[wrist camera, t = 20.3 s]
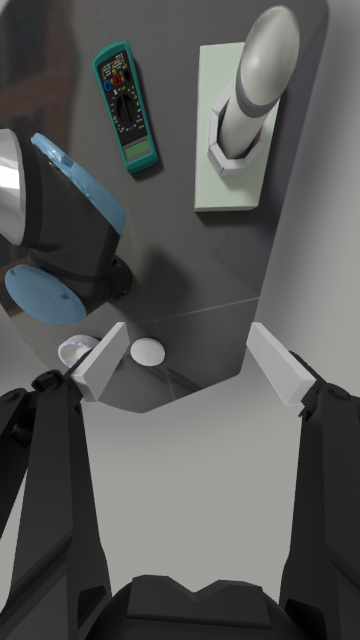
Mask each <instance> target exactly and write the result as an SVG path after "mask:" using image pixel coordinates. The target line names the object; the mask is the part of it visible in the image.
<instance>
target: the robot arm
mask: <svg viewBox="0 0 360 640" xmlns="http://www.w3.org/2000/svg"><path fill="white" fill-rule="evenodd" d="M31 142H32V144H33V145H32V144H30V143H28V142H27V141H25V140H24V139H23V138H21V137H20V136H18V135H17V134H15V133H14V132H12V131H11V130H9V129H2V130H0V233H1V234H2V235H4V236H5V237H6V238H7V239H8V240H9V241H10V242H11V243H13V244H14V245H18V246H22V247H27V248H29V263H28V265H18V266H16V267H15V268H13V269H10V270H9V271H8V272H7V274H6V276H5V284H6V287H7V290H8V292H9V294H10V295H11V297H12V298H13V299H14V301H15V302H16V303H17V304H18V305H19V306H20V307H21V308H22V309H23V310H24V311H26V312H27V313H28V314H30V315H31V316H33V317H34V318H36V319H38V320H40V321H42V322H44V323H47V324H50V325H54V326H68V325H72V324H74V323H76V322H78V321H80V320H82V319H84V318H85V317H86V316H87V315H88V314H90V313H91V312H93V311H94V310H96V309H97V308H99V307H100V306H101V305H103V304H104V303H106V302H114V301H118V300H120V299H122V298H123V297H125V296H126V295H127V294H128V292H129V291H130V288H131V284H132V280H131V274H130V271H129V269H128V267H127V266H126V264H125V263H124V262H123V261H122V260H121V259H120V258H119V257H118V256H116V255H115V253H116V250H117V247H118V244H119V241H120V238H122V231H123V227H124V224H125V220H126V213H125V210H124V208H123V206H122V204H121V203H120V202H119V201H118V200H117V199H116V198H115V197H114V196H113V195H112V194H111V193H110V192H109V191H108V190H107V189H106V188H105V187H103V186H102V185H101V184H100V183H99V182H98V181H97V180H96V179H95V178H93V177H92V176H91V175H90V174H89V173H88V172H87V171H85V170H84V169H83V168H82V167H81V166H79V165H78V164H77V163H76V162H74V161H73V160H72V159H71V158H70V157H69V156H67V155H66V154H65V153H64V152H63V151H62V150H61V149H59V148H58V147H57V146H56V145H55V144H53V143H52V142H51V141H50V140H48V139H47V138H46V137H44V136H43V135H41V134H39V133H36V134H35V135H34V137H32V138H31ZM129 344H130V341H129V337H128V333H127V329H126V325H125V322H117V324H116V325H115V326H114V327H113V328H112V329H111V330H110V331H109V333H108V334H107V335H106V336H105V337H104V338H103V339H102V341H101V342H100V343H99V344H98V345H97V346H96V347H95V348H94V349H90V350H89V351H87V352H86V353H84V354H83V355H82V356H81V357H80V359H79V360H78V361H77V362H76V363H75V364H74V365H73V366H72V367H71V368H70V369H69V370H68V371H67V372H66V373H65V374H64V375H62V374H61V372H60V371H59V370H51V371H48V372H45V373H43V374H41V375H40V376H38V377H37V378H36V379H35V380H34V381H33V382H32V384H31V386H32V387H33V388H34V389H35V390H36V391H32V392H27V391H26V390H25V389H24V388H18V389H14V390H12V391H9V392H7V393H6V394H4V395H2V396H1V397H0V539H1V537H2V534H3V531H4V529H5V526H6V523H7V521H8V518H9V515H10V513H11V510H12V507H13V505H14V502H15V500H16V497H17V494H18V491H19V489H20V486H21V483H22V481H23V478H24V476H25V473H26V470H27V468H28V471H27V477H26V484H25V491H24V497H23V505H22V511H21V518H20V525H19V532H18V539H17V546H16V552H15V559H14V566H13V573H12V580H11V587H10V592H9V596H8V599H7V602H6V604H5V607H4V608H3V610H2V611H1V613H0V640H360V398H359V397H356V396H352V395H350V394H349V393H348V392H347V391H345V390H344V389H342V388H340V387H339V386H337V385H334V384H331V383H327V382H326V381H325V380H324V379H323V378H322V377H321V376H319V375H318V374H317V373H316V372H315V371H314V370H313V369H312V368H311V367H310V366H308V364H307V363H306V362H304V360H303V359H302V358H301V357H300V356H298V355H297V354H295V353H294V352H292V351H287V350H286V349H285V347H283V345H282V344H280V342H279V341H277V339H276V338H274V336H273V335H272V334H271V333H270V332H269V331H268V330H267V329H266V328H265V327H264V326H263V325H262V324H261V323H252V325H251V329H250V332H249V336H248V339H247V343H246V345H247V346H248V348H249V349H250V351H251V352H252V354H253V356H254V357H255V359H256V360H257V362H258V364H259V365H260V367H261V368H262V370H263V371H264V373H265V375H266V376H267V378H268V379H269V381H270V383H271V384H272V386H273V387H274V389H275V391H276V392H277V394H278V395H279V397H280V399H281V400H282V402H283V403H284V405H285V406H290V407H291V406H292V407H297V406H298V405H299V403H300V402H302V403H303V405H304V406H305V407H304V409H303V410H302V411H301V412H300V414H299V417H301V416H302V426H301V436H300V447H299V458H298V469H297V479H296V490H295V501H294V511H293V522H292V533H291V544H290V552H289V556H288V559H287V561H286V563H285V565H284V570H283V574H282V580H281V588H280V597H279V605H278V604H277V603H276V602H275V601H274V600H273V599H272V598H270V597H269V596H268V595H267V594H265V593H264V592H263V590H262V587H261V586H257V585H254V584H250V583H247V582H243V581H229V580H218V581H216V582H214V583H212V584H210V585H208V586H207V587H205V588H203V589H201V590H199V591H197V592H195V593H194V592H191V591H190V590H188V589H186V588H185V587H184V586H182V585H181V584H179V583H178V582H176V581H175V580H173V579H172V578H170V577H168V576H157V575H142V576H138V577H134V578H133V579H132V582H130V583H128V584H127V585H126V586H124V587H123V588H122V589H121V590H119V591H118V592H117V593H116V594H115V595H114V596H113V597H112V593H111V586H110V579H109V572H108V566H107V561H106V557H105V554H104V551H103V548H102V546H101V543H100V538H99V531H98V523H97V516H96V509H95V502H94V494H93V487H92V480H91V473H90V466H89V458H88V451H87V444H86V436H85V429H84V422H83V414H82V407H81V403H80V401H81V399H82V397H84V399H85V401H86V402H97V400H98V399H99V397H100V395H101V393H102V392H103V390H104V388H105V386H106V384H107V383H108V381H109V379H110V377H111V376H112V374H113V372H114V370H115V369H116V367H117V365H118V363H119V362H120V360H121V358H122V356H123V355H124V353H125V351H126V349H127V348H128V346H129Z"/></svg>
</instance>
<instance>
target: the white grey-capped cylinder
mask: <svg viewBox="0 0 360 640" xmlns="http://www.w3.org/2000/svg"><path fill="white" fill-rule="evenodd" d="M299 50H300V30H299V24H298V21H297V18H296V16H295V14H294V13H293V11H292V10H291V9H290V8H288V7H286V6H284V5H276V6H273V7H270V8H269V9H267V10H266V11H265V12H263V13H262V14H261V15H260V17H259V18H258V19H257V20H256V22H255V23H254V25H253V26H252V28H251V30H250V32H249V34H248V36H247V39H246V41H245V44H244V48H243V51H242V55H241V58H240V62H239V65H238V69H237V74H236V79H235V82H234V85H233V89H232V92H231V96H230V99H229V103H228V106H227V110H226V113H225V116H224V120H223V123H222V127H221V130H220V134H219V140H218V145H219V148H220V149H221V151H222V152H223V154H224V156H225V157H226V159H227V160H232V159H240V158H241V157H242V156H243V155H244V154H245V152H246V151H247V149H248V147H249V146H250V144H251V142H252V141H253V139H254V138H255V136H256V134H257V133H258V131H259V129H260V128H261V126H262V125H263V123H264V121H265V120H266V118H267V116H268V115H269V113H270V112H271V110H272V108H273V107H274V106H275V105H276V103H277V102H278V100H279V99H280V97H281V95H282V94H283V92H284V91H285V89H286V87H287V86H288V84H289V82H290V80H291V78H292V76H293V73H294V71H295V68H296V65H297V61H298V56H299Z"/></svg>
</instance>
